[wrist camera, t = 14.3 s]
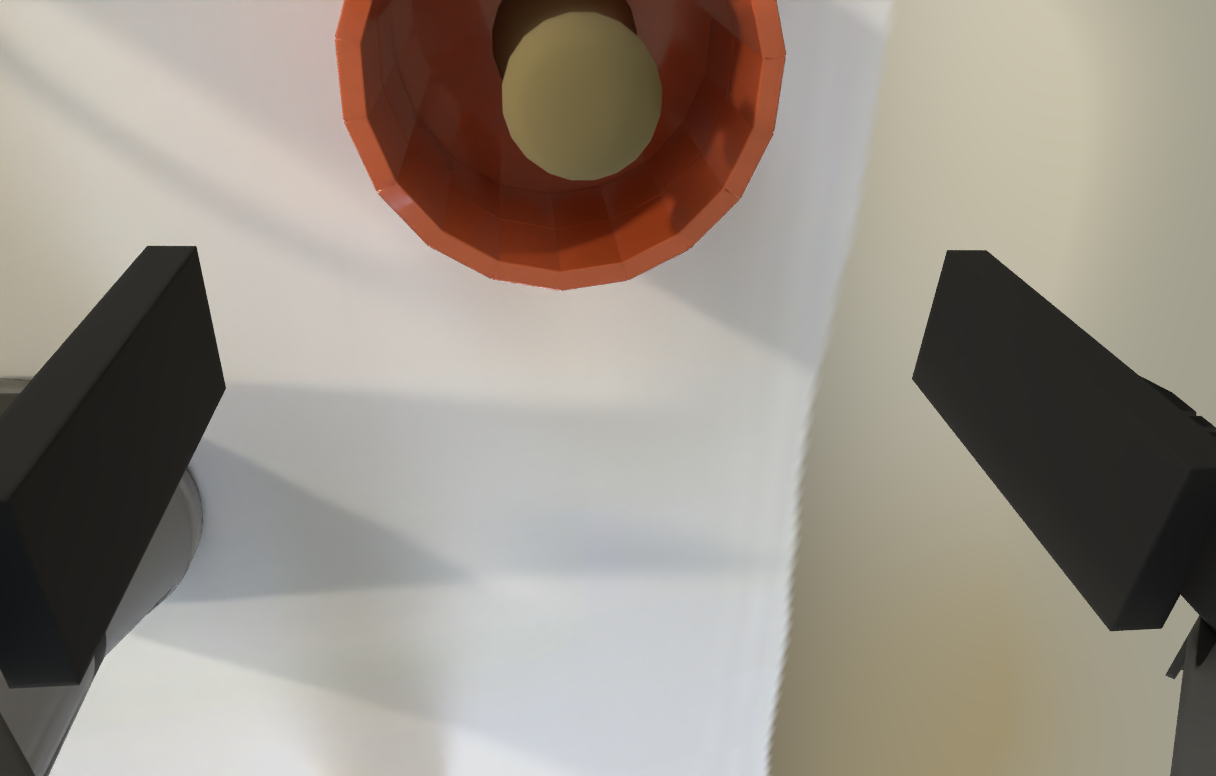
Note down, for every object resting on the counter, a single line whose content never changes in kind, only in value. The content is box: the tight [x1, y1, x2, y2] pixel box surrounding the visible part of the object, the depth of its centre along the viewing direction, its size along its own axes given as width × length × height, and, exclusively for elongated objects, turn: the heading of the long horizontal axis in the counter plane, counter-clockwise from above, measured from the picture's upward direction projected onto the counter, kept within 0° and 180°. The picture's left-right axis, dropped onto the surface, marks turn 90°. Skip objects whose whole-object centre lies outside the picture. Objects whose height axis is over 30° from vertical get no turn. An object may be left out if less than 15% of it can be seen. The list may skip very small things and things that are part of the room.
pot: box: [335, 0, 786, 291], centre depth 33 cm, size 15×15×9 cm
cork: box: [492, 0, 662, 180], centre depth 31 cm, size 6×6×11 cm
